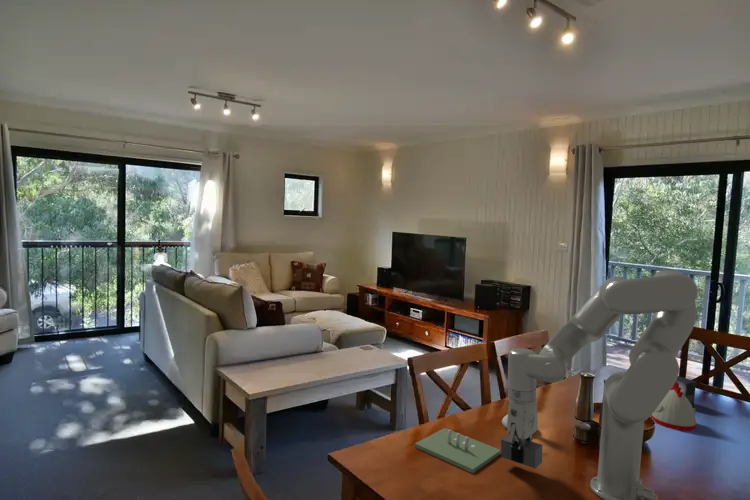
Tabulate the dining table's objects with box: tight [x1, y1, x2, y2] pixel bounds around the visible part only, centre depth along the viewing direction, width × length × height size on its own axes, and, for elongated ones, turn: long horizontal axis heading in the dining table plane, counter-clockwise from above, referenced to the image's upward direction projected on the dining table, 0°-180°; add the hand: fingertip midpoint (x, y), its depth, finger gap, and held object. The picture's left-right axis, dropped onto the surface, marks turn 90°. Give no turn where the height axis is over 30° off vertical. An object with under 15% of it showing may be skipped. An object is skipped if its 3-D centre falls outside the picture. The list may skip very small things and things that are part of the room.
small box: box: [676, 375, 697, 408], centre depth 191 cm, size 11×6×10 cm, turn 25°
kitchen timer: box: [650, 382, 697, 432], centre depth 171 cm, size 14×14×15 cm
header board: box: [414, 427, 501, 474], centre depth 142 cm, size 20×16×5 cm
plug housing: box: [500, 434, 543, 469], centre depth 132 cm, size 10×4×5 cm, turn 48°
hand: (521, 457), depth 132 cm, fingers closed on plug housing, 4 cm apart
